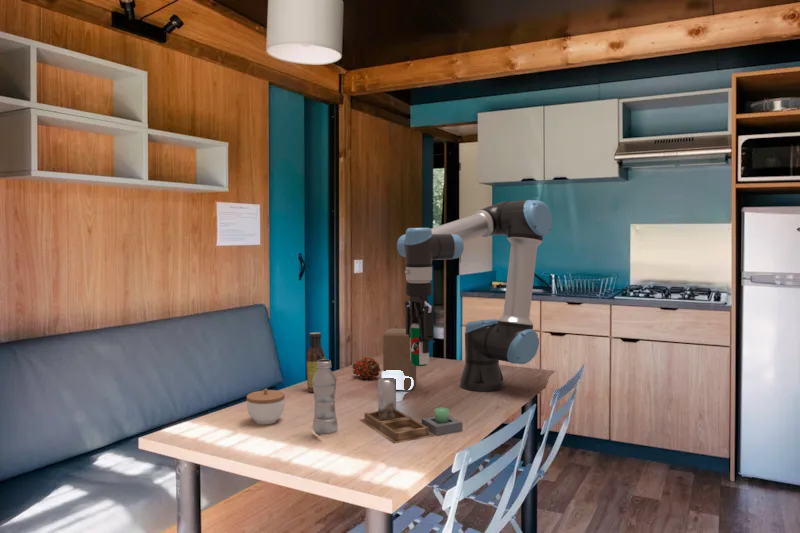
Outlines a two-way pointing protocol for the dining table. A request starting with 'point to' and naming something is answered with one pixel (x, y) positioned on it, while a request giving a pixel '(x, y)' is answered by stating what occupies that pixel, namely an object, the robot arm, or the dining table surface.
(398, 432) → the tray
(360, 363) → the reddish brown bumpy oval
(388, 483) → the dining table surface
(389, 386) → the seated cylinder
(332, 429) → the plastic bottle
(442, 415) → the button
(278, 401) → the lidded jar
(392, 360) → the block
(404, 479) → the dining table surface
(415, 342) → the soda can
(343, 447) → the dining table surface
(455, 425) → the grey square holder
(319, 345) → the sauce bottle
